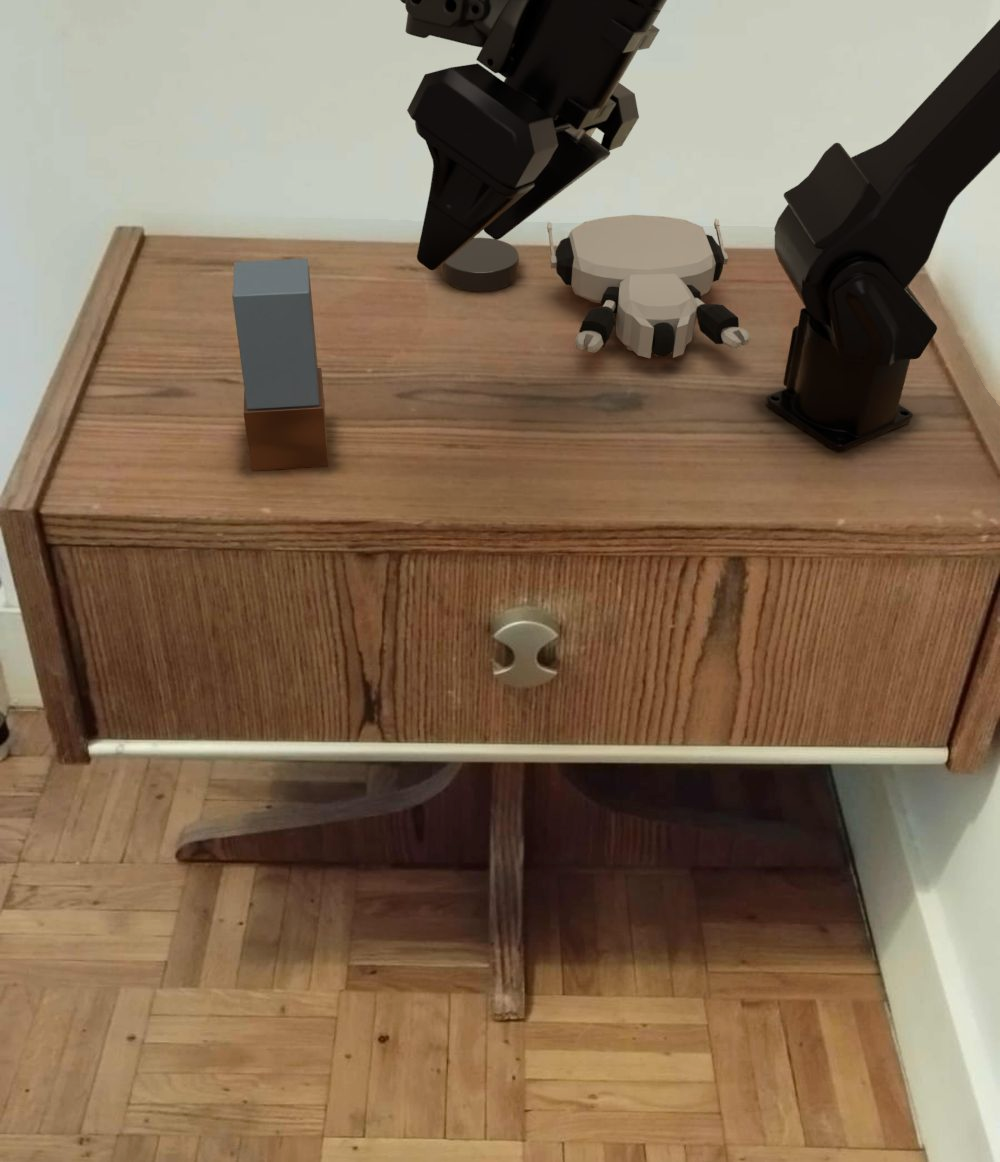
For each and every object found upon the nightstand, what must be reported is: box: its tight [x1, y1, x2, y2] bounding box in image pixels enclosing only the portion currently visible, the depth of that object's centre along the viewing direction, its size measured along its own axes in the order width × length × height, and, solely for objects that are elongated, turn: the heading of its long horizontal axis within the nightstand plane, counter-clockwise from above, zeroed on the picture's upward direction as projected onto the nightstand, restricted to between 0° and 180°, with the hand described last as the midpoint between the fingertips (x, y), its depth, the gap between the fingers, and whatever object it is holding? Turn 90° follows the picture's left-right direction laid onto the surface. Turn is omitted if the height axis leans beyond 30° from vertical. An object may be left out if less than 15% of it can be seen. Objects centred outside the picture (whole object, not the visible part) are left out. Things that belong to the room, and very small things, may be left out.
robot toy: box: [546, 214, 751, 359], centre depth 87 cm, size 12×4×15 cm
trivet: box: [440, 237, 520, 293], centre depth 93 cm, size 6×6×2 cm
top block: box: [231, 258, 319, 409], centre depth 71 cm, size 4×4×7 cm
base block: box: [243, 367, 329, 472], centre depth 75 cm, size 4×4×4 cm
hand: (459, 249), depth 70 cm, fingers open, 9 cm apart
